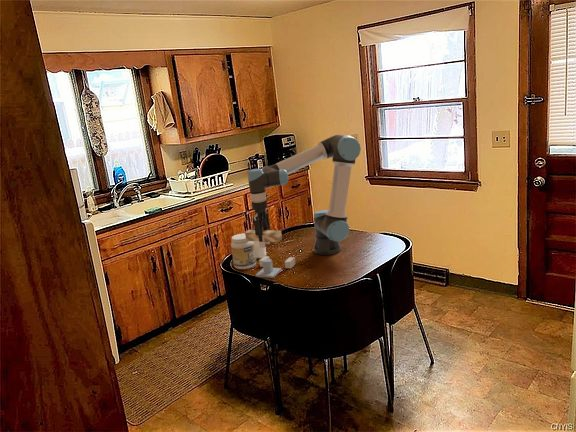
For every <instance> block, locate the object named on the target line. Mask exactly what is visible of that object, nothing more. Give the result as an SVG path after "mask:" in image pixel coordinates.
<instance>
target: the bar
mask: <svg viewBox="0 0 576 432" xmlns="http://www.w3.org/2000/svg"><path fill="white" fill-rule="evenodd" d="M244 233H245V236H246V241H257V242H259V237H258V235H255V229H248V230H247V231H245V232H244ZM263 235H264V241H265V242H270V243H279V242H280V241H282V240H283V235H282V230H271V229H270V230H263Z"/></svg>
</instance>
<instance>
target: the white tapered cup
mask: <svg viewBox="0 0 576 432" xmlns="http://www.w3.org/2000/svg"><path fill="white" fill-rule="evenodd" d="M253 242H254V250H255V257H256V259H262V258H263V257H264V256H267V248H266V247H265V248H260V245H259V242H257V241H253Z"/></svg>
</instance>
